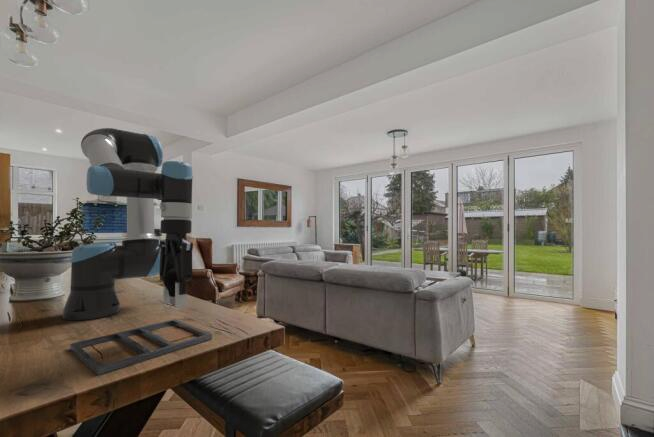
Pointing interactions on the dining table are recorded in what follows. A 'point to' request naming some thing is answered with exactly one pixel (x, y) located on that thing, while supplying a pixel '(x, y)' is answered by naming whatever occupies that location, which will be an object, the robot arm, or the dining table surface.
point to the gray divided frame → (145, 353)
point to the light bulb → (170, 284)
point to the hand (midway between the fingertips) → (174, 304)
